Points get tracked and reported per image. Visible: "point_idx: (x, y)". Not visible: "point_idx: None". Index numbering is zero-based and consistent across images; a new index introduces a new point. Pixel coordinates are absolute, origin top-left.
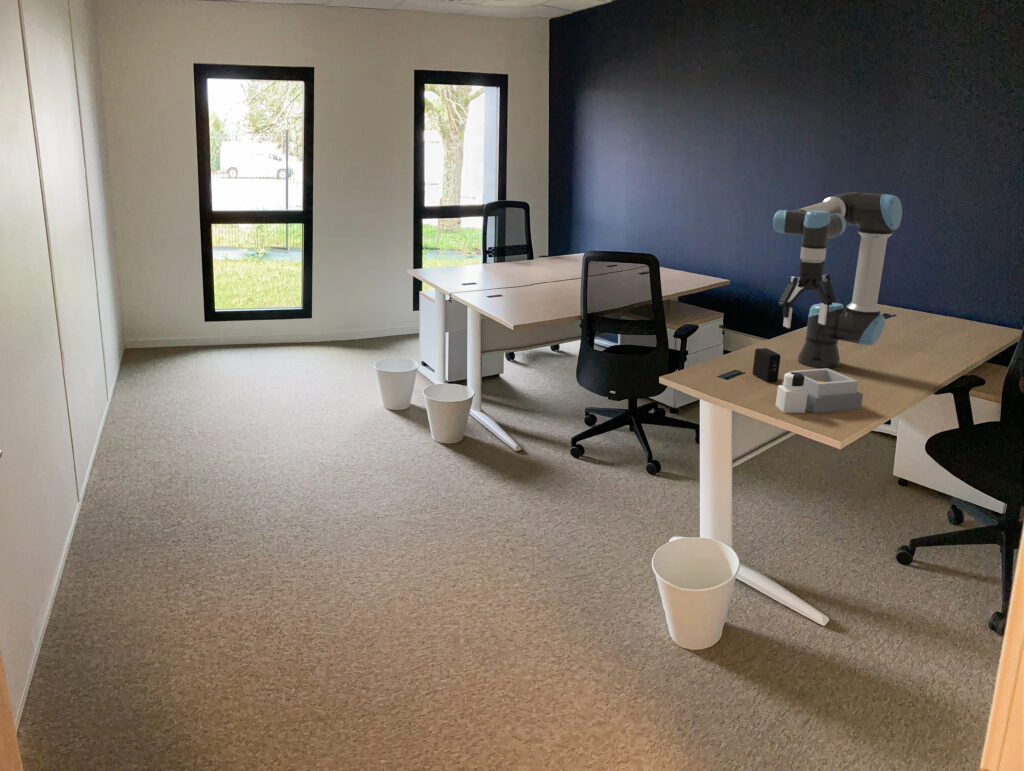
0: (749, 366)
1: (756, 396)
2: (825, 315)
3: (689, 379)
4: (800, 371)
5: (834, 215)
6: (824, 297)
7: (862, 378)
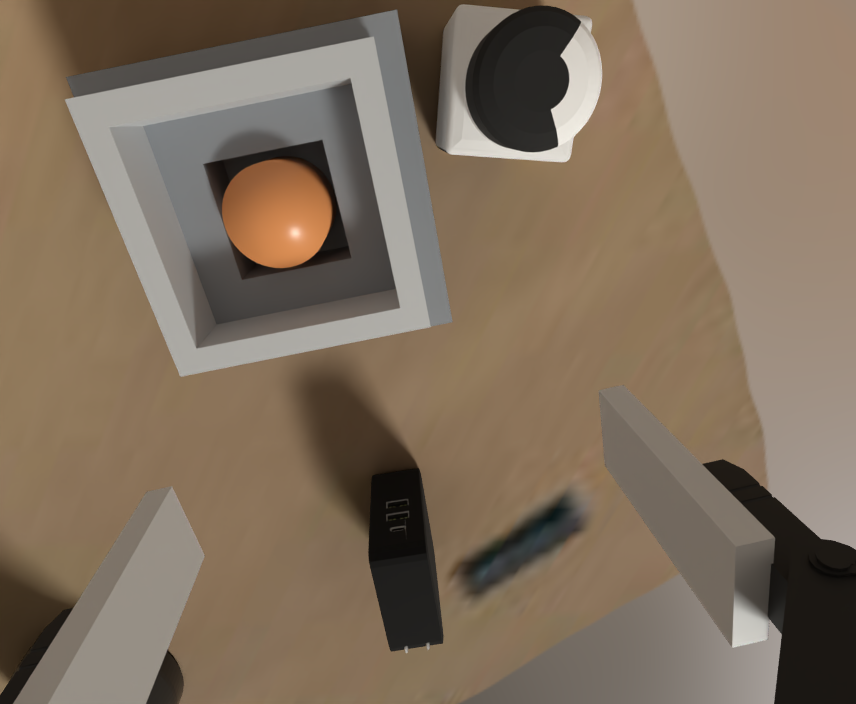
0: None
1: (554, 293)
2: (112, 567)
3: None
4: (371, 317)
5: None
6: None
7: None
